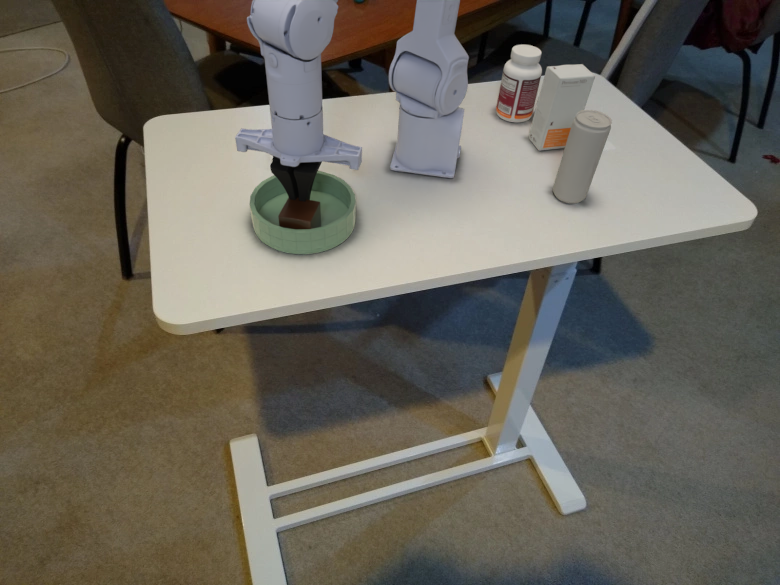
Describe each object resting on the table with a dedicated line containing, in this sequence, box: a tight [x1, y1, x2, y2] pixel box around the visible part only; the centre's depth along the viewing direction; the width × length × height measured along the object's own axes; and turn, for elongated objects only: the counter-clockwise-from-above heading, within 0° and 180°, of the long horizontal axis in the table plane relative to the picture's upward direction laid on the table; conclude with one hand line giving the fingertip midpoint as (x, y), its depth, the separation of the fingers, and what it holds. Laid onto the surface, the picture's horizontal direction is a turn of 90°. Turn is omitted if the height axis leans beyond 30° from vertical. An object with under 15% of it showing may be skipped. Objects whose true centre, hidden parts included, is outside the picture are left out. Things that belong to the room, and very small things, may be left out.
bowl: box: [248, 170, 357, 255], centre depth 73 cm, size 13×13×4 cm
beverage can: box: [552, 109, 613, 204], centre depth 78 cm, size 5×5×12 cm
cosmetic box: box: [528, 63, 596, 152], centre depth 87 cm, size 6×4×12 cm
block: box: [278, 197, 321, 229], centre depth 70 cm, size 4×4×4 cm
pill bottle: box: [495, 44, 543, 123], centre depth 94 cm, size 6×6×11 cm
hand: (302, 205), depth 72 cm, fingers closed, pressing on block
